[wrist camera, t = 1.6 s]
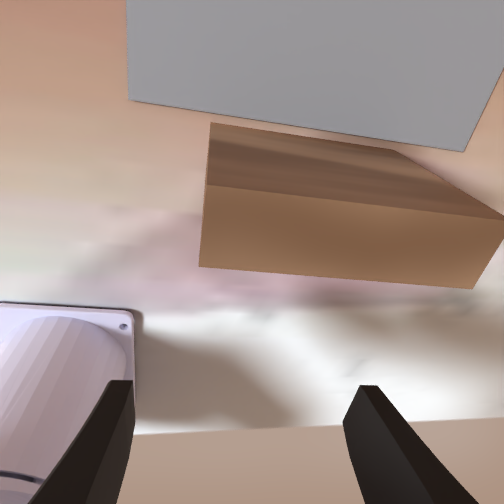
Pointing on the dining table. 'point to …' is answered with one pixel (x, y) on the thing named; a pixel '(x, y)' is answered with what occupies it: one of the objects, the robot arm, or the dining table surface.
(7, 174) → the dining table surface
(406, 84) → the mat
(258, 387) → the dining table surface
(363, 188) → the walnut slab
